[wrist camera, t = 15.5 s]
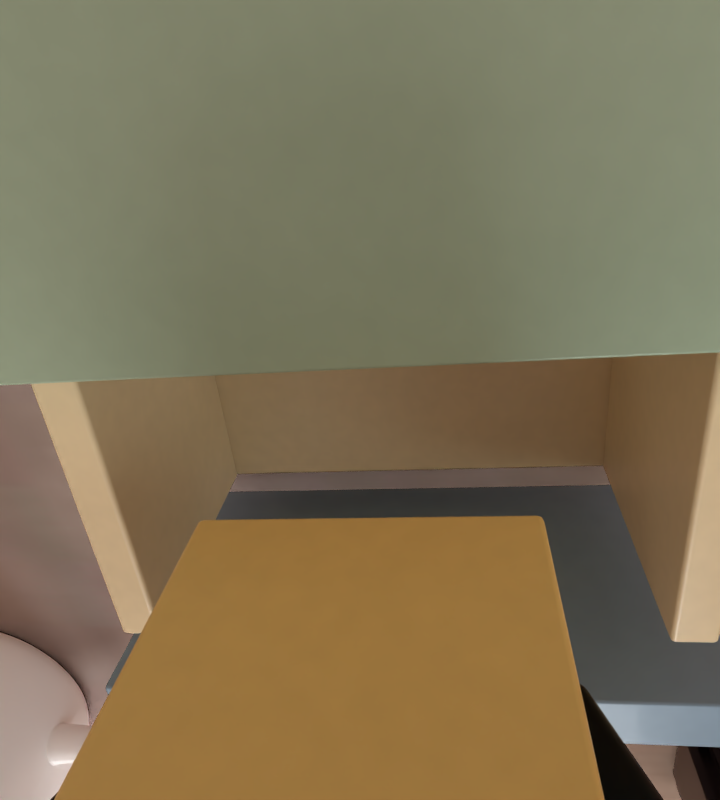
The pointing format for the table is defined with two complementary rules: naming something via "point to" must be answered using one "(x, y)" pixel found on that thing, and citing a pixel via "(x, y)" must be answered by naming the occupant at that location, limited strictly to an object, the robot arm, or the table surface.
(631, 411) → the drawer
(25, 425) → the table surface
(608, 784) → the robot arm
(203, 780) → the block
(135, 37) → the cabinet
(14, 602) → the table surface
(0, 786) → the cup
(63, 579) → the table surface
